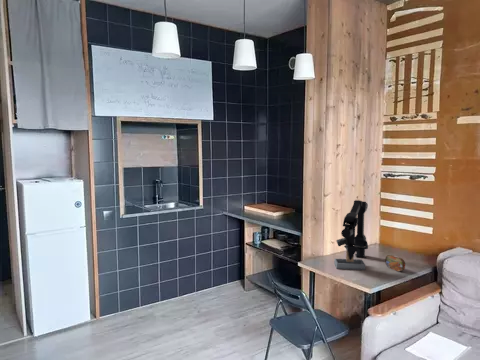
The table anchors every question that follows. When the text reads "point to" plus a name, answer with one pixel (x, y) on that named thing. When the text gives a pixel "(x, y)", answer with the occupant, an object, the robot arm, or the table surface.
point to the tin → (395, 263)
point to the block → (348, 257)
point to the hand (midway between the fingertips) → (349, 258)
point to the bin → (349, 264)
